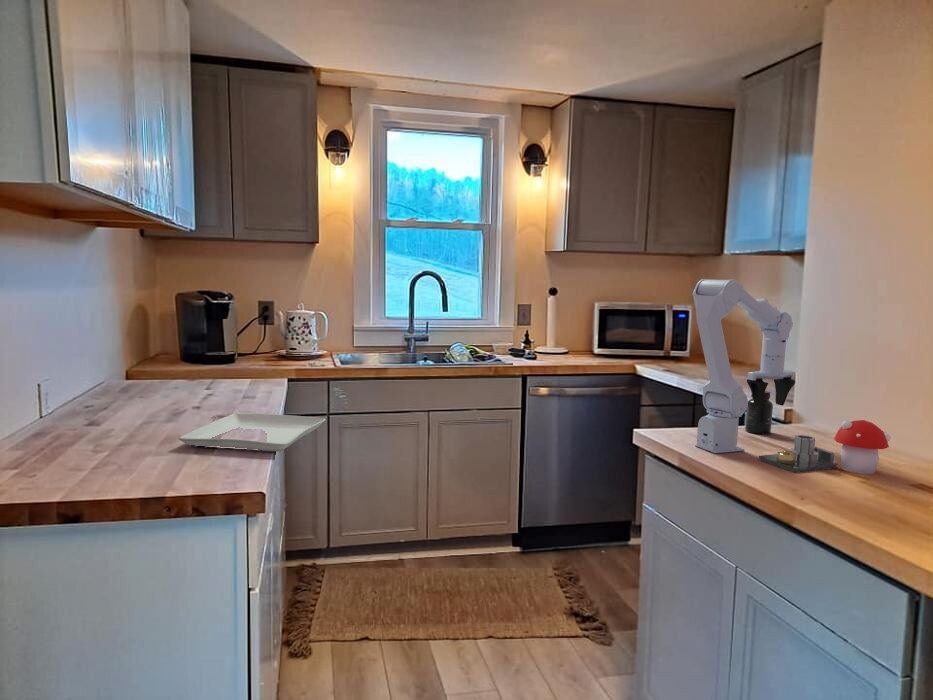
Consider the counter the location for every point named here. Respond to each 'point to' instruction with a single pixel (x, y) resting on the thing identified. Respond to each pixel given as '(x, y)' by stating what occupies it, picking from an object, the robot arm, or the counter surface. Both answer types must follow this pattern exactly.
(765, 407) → the supplement bottle
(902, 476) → the counter surface
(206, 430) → the square plate
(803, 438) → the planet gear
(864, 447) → the mushroom
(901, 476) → the counter surface
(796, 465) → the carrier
